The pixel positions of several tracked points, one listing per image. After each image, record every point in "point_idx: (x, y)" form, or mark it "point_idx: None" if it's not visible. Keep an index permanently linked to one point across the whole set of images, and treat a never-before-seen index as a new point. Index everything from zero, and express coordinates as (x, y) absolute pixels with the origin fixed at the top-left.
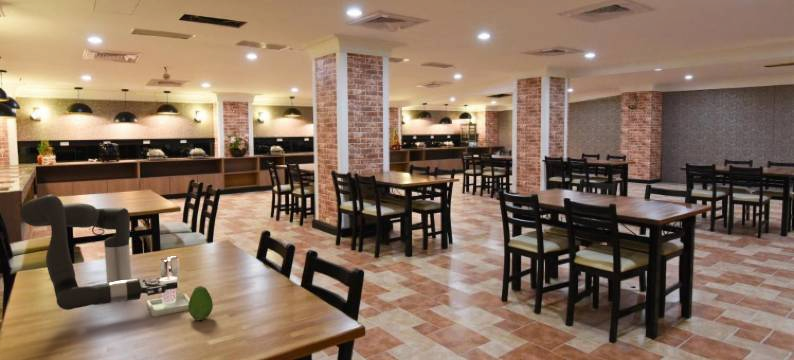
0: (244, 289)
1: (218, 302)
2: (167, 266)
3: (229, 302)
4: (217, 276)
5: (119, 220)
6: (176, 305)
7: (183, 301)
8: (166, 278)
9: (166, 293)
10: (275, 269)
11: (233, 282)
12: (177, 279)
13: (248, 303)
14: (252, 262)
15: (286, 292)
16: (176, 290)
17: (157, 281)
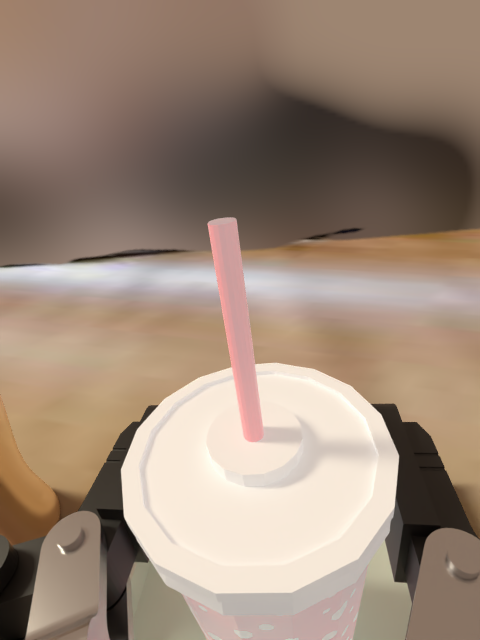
0: None
1: (350, 372)
2: (236, 241)
3: (374, 345)
4: (18, 333)
5: None
6: None
7: None
8: (258, 457)
9: (356, 611)
10: (137, 255)
11: (137, 313)
12: (7, 417)
13: (421, 310)
14: (24, 273)
15: (351, 254)
16: (39, 486)
17: (103, 636)
